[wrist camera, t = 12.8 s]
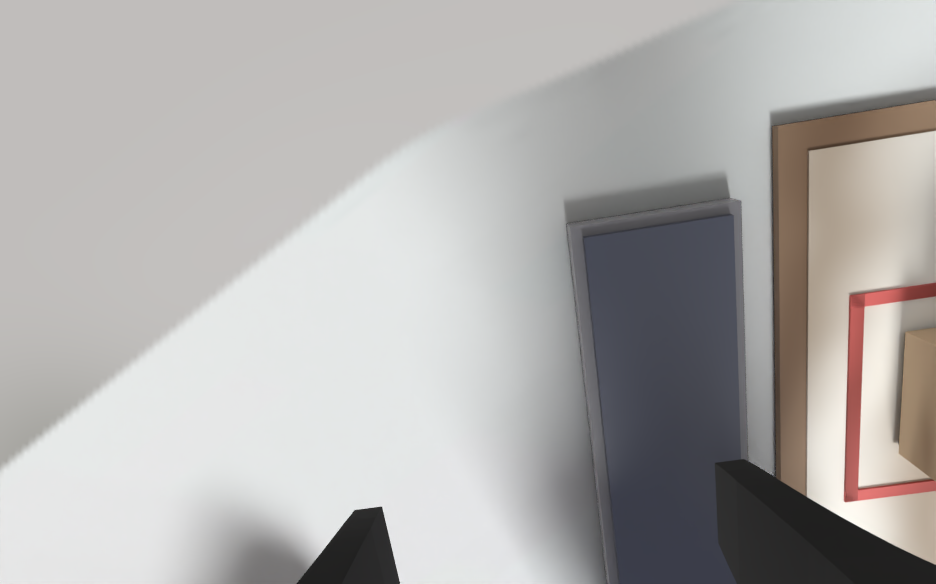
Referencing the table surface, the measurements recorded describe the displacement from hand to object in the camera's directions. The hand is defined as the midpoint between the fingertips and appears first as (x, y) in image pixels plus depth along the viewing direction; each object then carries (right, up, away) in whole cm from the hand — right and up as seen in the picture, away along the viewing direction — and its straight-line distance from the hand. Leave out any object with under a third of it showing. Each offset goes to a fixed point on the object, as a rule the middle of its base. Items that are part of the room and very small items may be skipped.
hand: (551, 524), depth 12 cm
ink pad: (+6, 0, +11) cm, 12 cm away
